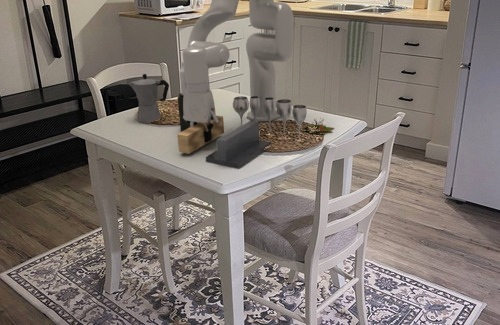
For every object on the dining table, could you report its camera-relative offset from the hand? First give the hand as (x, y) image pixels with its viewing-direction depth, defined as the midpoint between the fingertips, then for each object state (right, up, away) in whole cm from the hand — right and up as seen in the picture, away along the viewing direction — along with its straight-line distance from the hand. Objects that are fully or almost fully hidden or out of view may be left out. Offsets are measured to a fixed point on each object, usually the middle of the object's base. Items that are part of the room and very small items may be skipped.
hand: (202, 139), depth 167 cm
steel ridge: (+12, -5, -7) cm, 15 cm away
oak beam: (0, -1, 0) cm, 1 cm away
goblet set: (+22, +2, +8) cm, 24 cm away
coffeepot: (-22, +9, +28) cm, 37 cm away
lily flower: (+40, +3, +11) cm, 42 cm away
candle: (-7, +4, +16) cm, 18 cm away
